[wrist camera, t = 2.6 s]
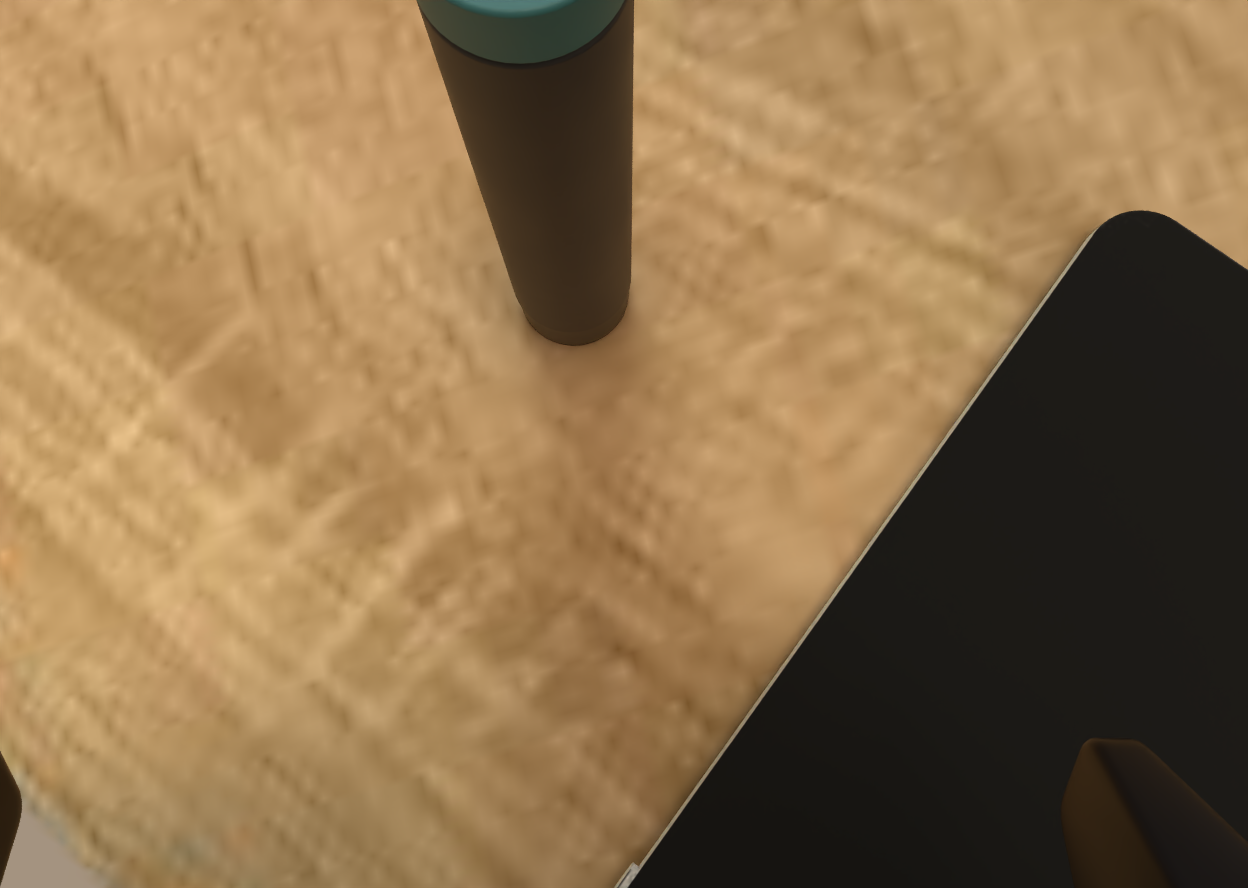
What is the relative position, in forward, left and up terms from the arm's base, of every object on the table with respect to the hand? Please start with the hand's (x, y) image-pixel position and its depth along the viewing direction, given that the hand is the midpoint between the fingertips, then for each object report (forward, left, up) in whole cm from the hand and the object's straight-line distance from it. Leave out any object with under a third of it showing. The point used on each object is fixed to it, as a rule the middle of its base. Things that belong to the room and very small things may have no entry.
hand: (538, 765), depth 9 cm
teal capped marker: (+7, +4, -13) cm, 16 cm away
